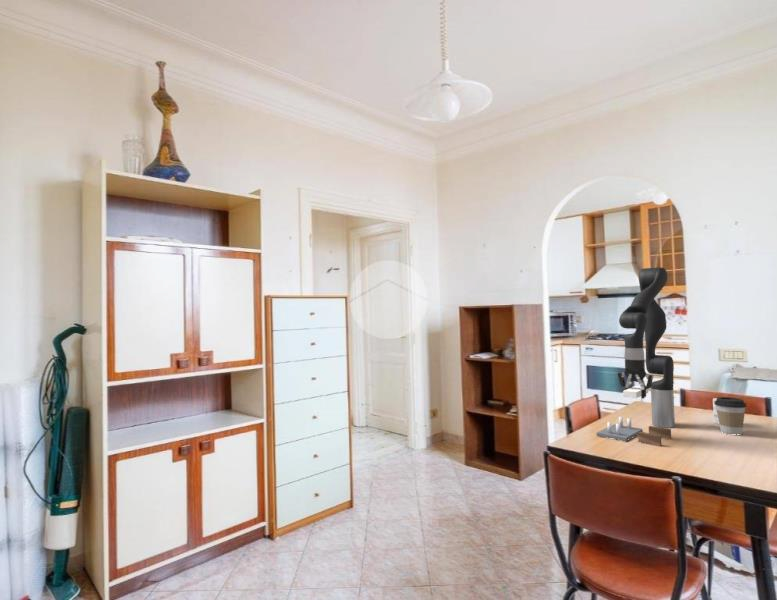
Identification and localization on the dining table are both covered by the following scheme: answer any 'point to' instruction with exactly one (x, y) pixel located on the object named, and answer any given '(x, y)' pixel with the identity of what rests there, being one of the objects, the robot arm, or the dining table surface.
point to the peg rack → (619, 430)
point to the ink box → (715, 412)
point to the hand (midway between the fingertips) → (636, 397)
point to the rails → (654, 435)
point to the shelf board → (633, 392)
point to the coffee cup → (730, 414)
